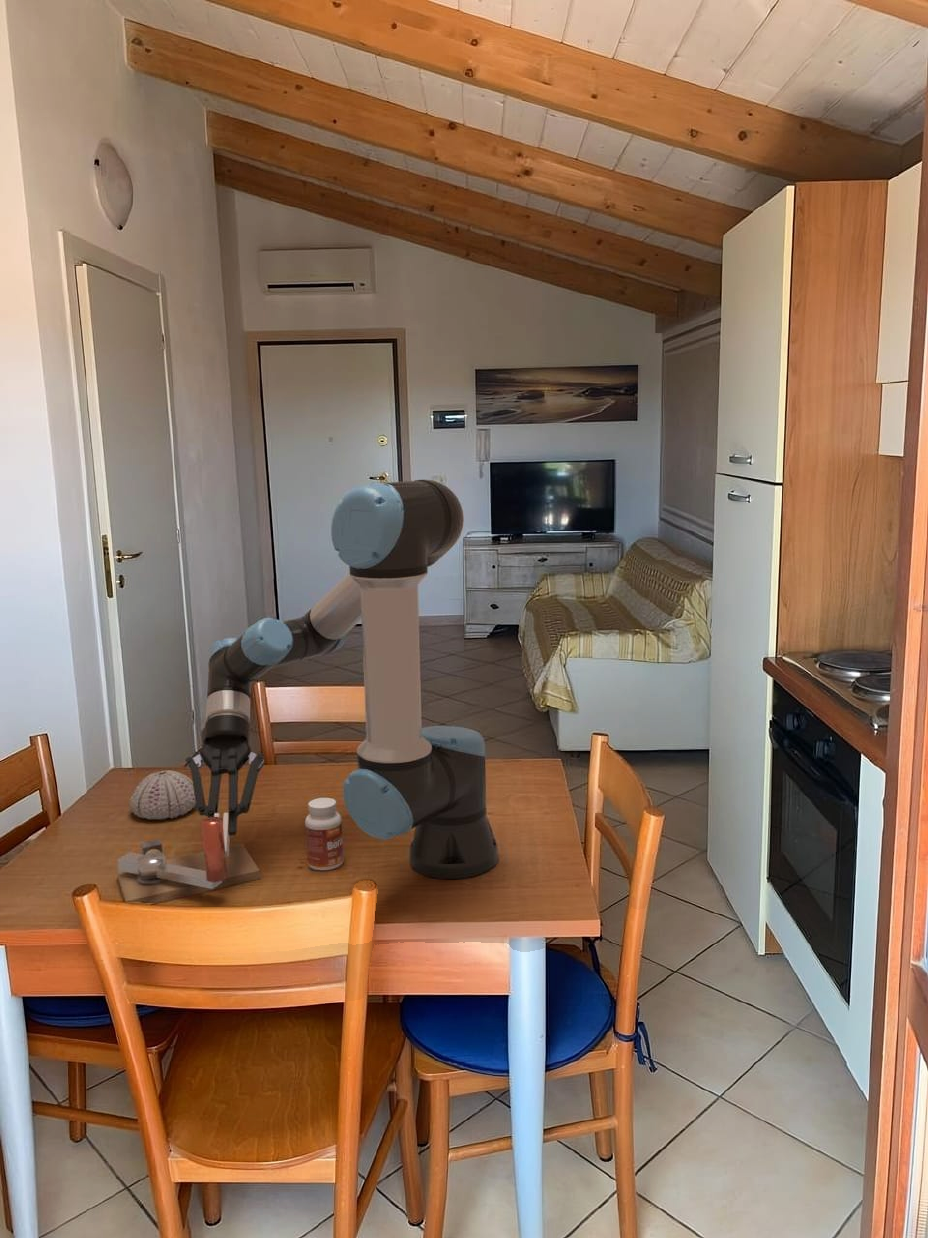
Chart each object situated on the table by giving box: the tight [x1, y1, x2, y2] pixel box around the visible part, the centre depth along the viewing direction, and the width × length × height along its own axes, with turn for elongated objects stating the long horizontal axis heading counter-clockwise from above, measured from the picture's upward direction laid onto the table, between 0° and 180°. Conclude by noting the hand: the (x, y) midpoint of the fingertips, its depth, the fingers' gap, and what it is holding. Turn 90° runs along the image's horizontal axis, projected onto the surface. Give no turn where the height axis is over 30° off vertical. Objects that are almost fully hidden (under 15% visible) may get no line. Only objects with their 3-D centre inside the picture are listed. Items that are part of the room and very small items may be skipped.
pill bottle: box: [304, 797, 345, 871], centre depth 159 cm, size 6×6×11 cm
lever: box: [116, 816, 227, 889], centre depth 151 cm, size 21×4×11 cm, turn 66°
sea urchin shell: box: [128, 769, 196, 821], centre depth 185 cm, size 13×14×8 cm
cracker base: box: [116, 838, 261, 904], centre depth 157 cm, size 21×14×4 cm
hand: (220, 854), depth 150 cm, fingers closed
